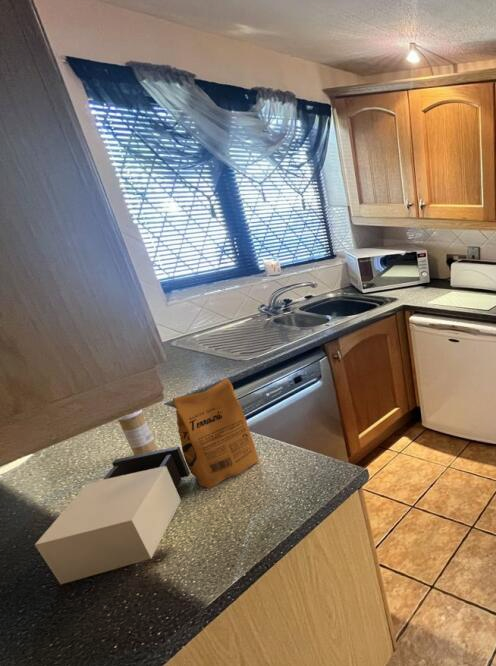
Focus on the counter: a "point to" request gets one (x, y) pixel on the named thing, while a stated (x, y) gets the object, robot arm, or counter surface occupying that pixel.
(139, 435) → the sprinkles bottle
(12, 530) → the counter surface
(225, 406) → the coffee package
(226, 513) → the counter surface
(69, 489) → the counter surface
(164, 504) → the beige rectangular block
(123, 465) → the drawer
